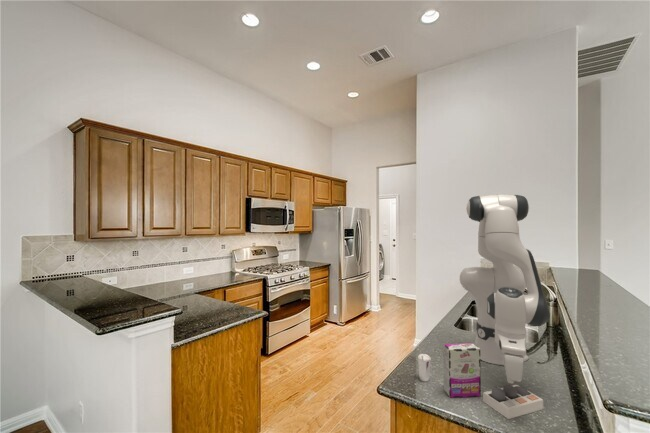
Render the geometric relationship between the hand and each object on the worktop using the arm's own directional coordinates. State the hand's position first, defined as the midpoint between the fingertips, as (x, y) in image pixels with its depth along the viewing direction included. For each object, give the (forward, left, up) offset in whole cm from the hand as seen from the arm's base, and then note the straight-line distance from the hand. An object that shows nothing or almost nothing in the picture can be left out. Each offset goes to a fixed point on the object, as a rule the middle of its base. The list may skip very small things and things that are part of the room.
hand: (510, 381), depth 96 cm
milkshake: (+18, -21, -8) cm, 28 cm away
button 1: (+5, 0, -5) cm, 7 cm away
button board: (0, +1, -7) cm, 7 cm away
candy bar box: (+11, -10, -8) cm, 16 cm away
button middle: (0, 0, -5) cm, 5 cm away
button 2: (-5, 0, -7) cm, 8 cm away
